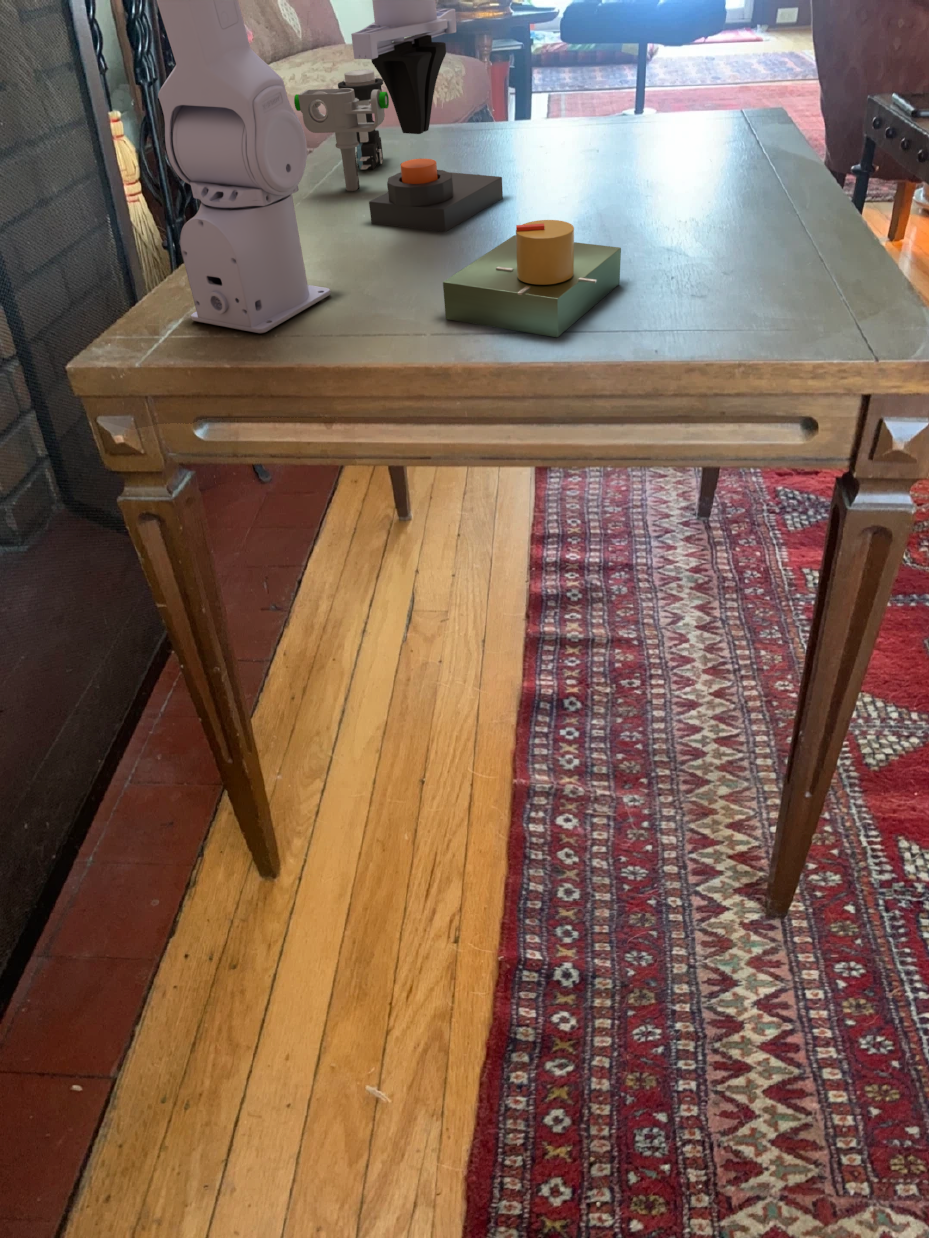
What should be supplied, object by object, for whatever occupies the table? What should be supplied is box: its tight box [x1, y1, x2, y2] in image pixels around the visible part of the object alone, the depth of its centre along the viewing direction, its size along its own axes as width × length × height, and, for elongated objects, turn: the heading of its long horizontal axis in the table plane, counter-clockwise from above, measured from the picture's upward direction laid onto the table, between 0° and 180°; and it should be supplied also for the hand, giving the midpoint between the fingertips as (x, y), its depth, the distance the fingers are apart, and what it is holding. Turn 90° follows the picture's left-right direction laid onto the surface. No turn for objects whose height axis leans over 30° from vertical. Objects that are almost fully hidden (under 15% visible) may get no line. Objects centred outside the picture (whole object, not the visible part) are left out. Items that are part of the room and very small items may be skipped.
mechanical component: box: [293, 88, 390, 192], centre depth 102 cm, size 3×10×10 cm, turn 79°
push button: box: [337, 68, 384, 171], centre depth 110 cm, size 7×5×10 cm
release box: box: [368, 169, 504, 233], centre depth 96 cm, size 12×9×4 cm
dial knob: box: [515, 219, 575, 285], centre depth 71 cm, size 4×4×4 cm
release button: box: [400, 158, 438, 184], centre depth 92 cm, size 4×4×2 cm
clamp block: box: [442, 234, 622, 338], centre depth 75 cm, size 12×11×3 cm
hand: (415, 132), depth 90 cm, fingers closed
